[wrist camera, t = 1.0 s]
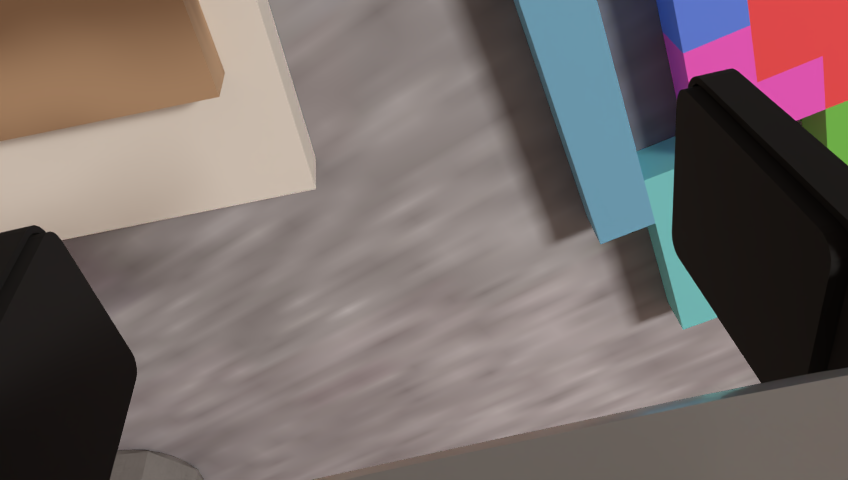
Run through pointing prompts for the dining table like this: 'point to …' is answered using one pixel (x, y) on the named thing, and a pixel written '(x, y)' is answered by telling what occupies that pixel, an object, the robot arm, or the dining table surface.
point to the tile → (100, 61)
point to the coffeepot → (151, 467)
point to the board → (171, 146)
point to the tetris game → (688, 57)
